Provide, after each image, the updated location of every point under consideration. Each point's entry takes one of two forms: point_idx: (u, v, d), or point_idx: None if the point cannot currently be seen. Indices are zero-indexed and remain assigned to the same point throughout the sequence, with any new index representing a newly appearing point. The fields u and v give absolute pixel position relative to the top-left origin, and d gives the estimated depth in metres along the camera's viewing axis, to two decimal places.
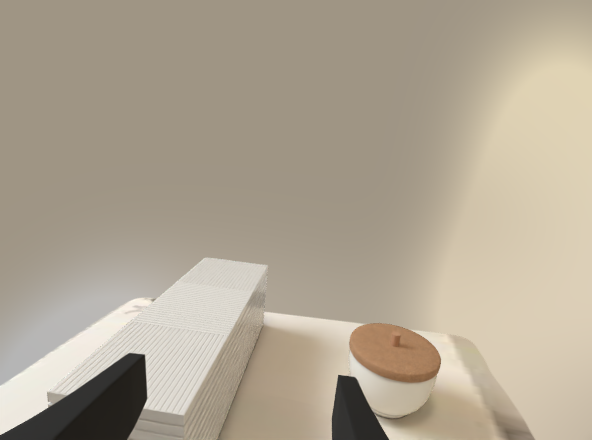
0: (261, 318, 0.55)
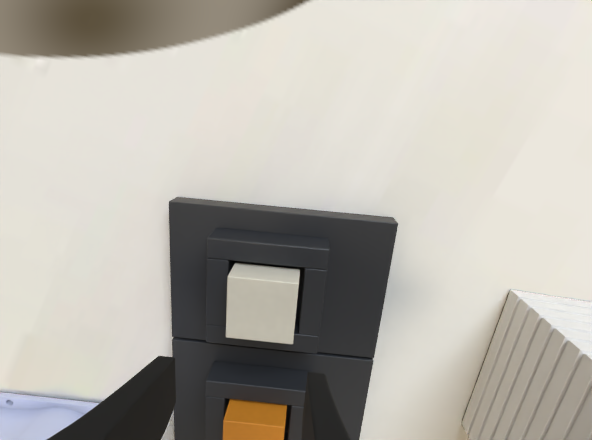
0: None
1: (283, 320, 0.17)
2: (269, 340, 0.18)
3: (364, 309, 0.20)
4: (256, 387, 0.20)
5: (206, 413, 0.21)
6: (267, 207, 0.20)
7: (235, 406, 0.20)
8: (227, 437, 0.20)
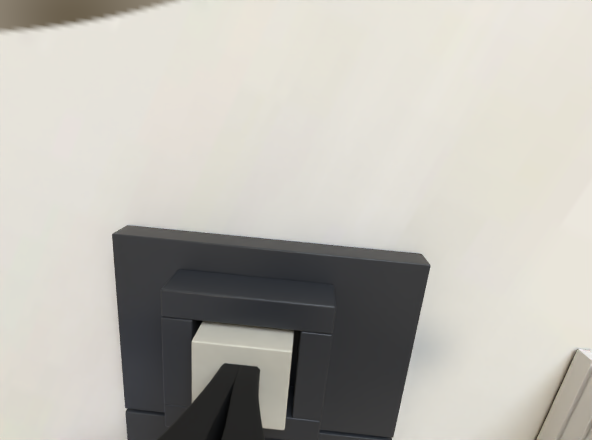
0: None
1: (271, 399, 0.12)
2: None
3: (382, 377, 0.15)
4: None
5: None
6: (249, 240, 0.14)
7: None
8: None
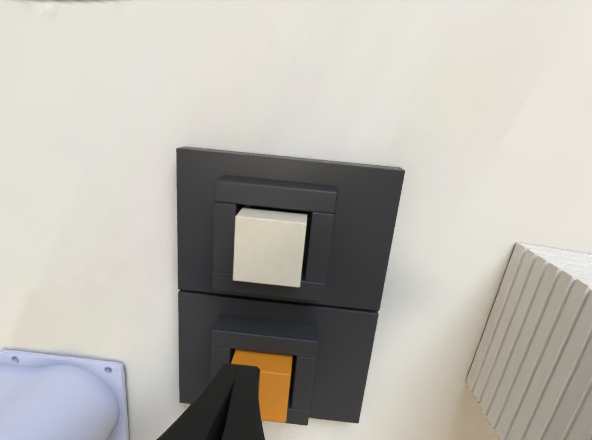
0: None
1: (290, 262, 0.17)
2: (277, 283, 0.18)
3: (370, 260, 0.20)
4: (262, 337, 0.20)
5: (212, 364, 0.21)
6: (274, 156, 0.20)
7: (241, 356, 0.21)
8: None
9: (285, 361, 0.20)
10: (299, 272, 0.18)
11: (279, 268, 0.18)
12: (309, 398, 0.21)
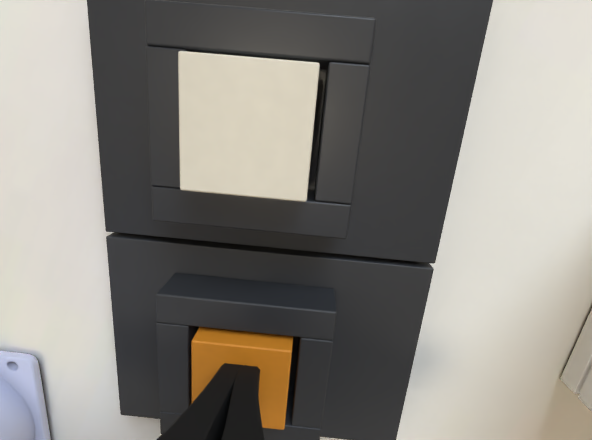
0: None
1: (288, 149, 0.09)
2: (263, 193, 0.09)
3: (424, 174, 0.12)
4: (241, 305, 0.12)
5: (159, 353, 0.13)
6: None
7: None
8: (198, 370, 0.12)
9: None
10: (305, 170, 0.09)
11: (267, 162, 0.09)
12: (321, 408, 0.13)
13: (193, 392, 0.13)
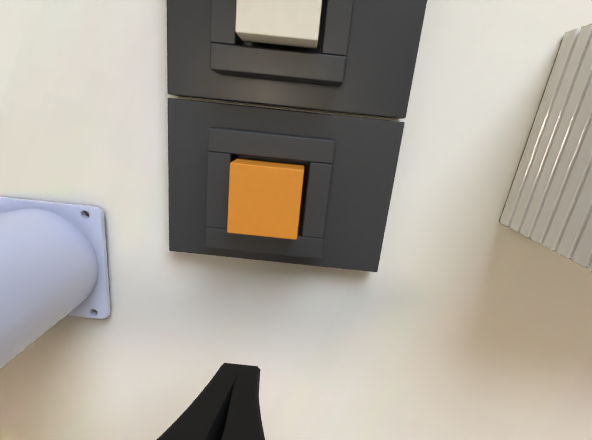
0: None
1: (307, 2, 0.14)
2: (289, 34, 0.15)
3: (397, 47, 0.17)
4: (269, 136, 0.17)
5: (208, 176, 0.18)
6: None
7: (243, 160, 0.17)
8: (234, 187, 0.17)
9: (296, 166, 0.17)
10: (317, 17, 0.14)
11: (293, 11, 0.14)
12: (323, 221, 0.18)
13: (229, 207, 0.17)
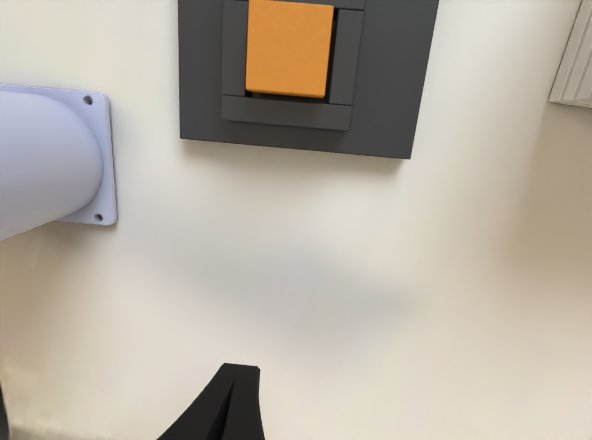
0: None
1: None
2: None
3: None
4: None
5: (223, 30, 0.16)
6: None
7: None
8: (254, 30, 0.14)
9: None
10: None
11: None
12: (353, 83, 0.16)
13: (248, 57, 0.15)
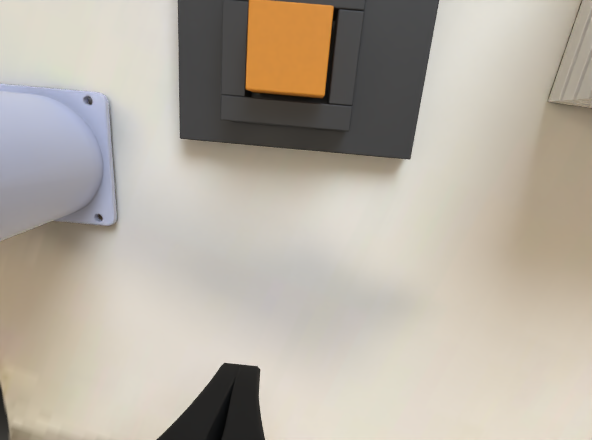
0: None
1: None
2: None
3: None
4: None
5: (223, 30, 0.16)
6: None
7: None
8: (254, 30, 0.14)
9: None
10: None
11: None
12: (353, 83, 0.16)
13: (248, 57, 0.15)
